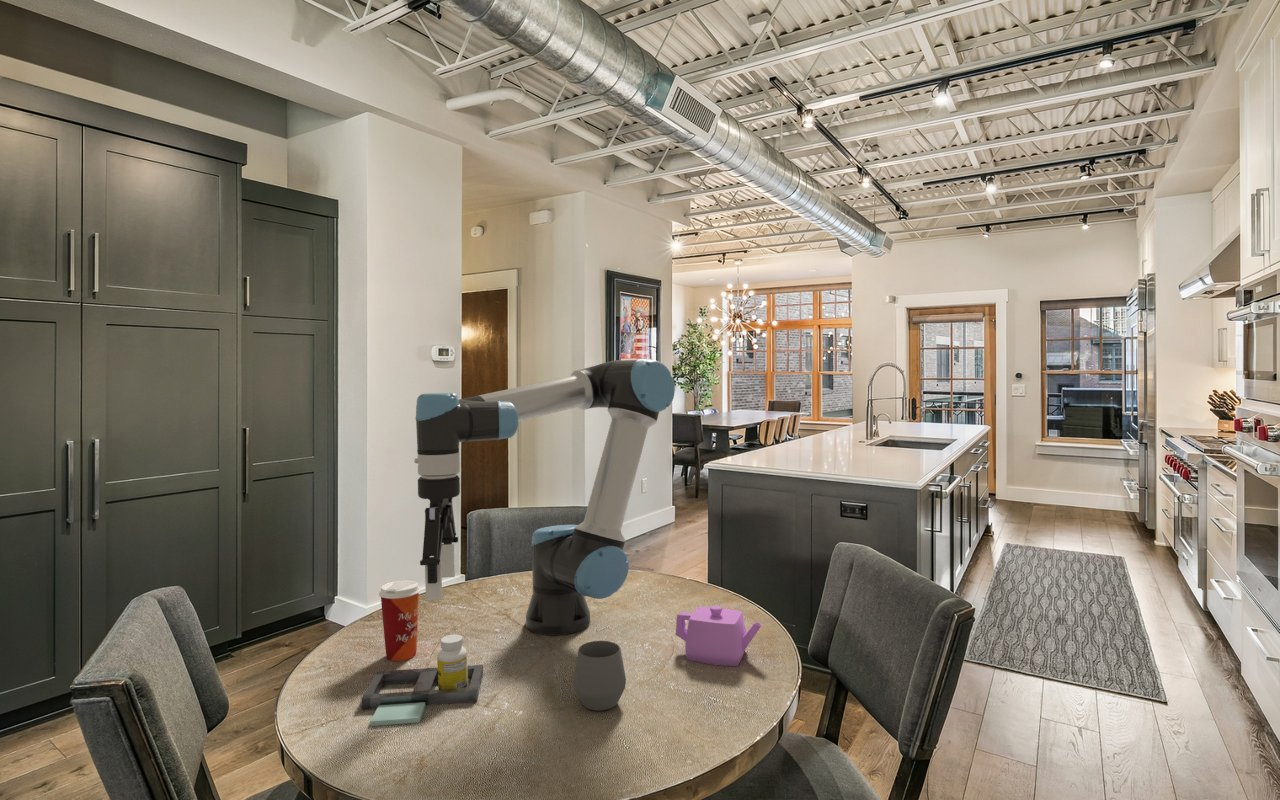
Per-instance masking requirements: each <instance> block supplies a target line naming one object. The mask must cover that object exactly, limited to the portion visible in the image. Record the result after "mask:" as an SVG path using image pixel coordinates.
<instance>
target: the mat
mask: <svg viewBox="0 0 1280 800" xmlns="http://www.w3.org/2000/svg"><path fill="white" fill-rule="evenodd" d="M425 709H426V705H425V702H421V703H407V704H393V705H379V706H378V708H377V709H376V710H375V712H374V713H373V715H372V717H371V719H370V724H369V725H370V727H375V726H378V727H379V726H387V725H388V726H389V725H391V726H392V725H402V724H404V725H405V724H415V723H420V722H421V720H422V716H423V714H424V712H425Z"/></svg>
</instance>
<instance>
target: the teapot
mask: <svg viewBox="0 0 1280 800" xmlns="http://www.w3.org/2000/svg"><path fill="white" fill-rule="evenodd" d="M686 621H688V623H687V627H686ZM675 625H676V626H675V636H677V637H679V638H680V639H681V640H683V641H684V642H685V649H684V652H685V657H686V659H687V660H688V661H690V662H694V663H695V662H696V663H701V664H707V665H713V666H721V667H722V666H724V667H738V666H739V664H740V663H741V661H742V659H743V656H744V655H745V651H746V649H747V647H748V646H750V645H749V644H750V643H751V642H752V641H753V639H754V637H755V636H756V634H757V633H758V631H760V628H761V627H762V623H761V622H758V621H754V622H753V624H752V625H751V626H750V627H749V628H748V629H747V630H746V624H745V619H744V614H743V611H742V610H738V609H729V608H723V607H722V606H720V605H712V606H698V607H697V608H696V609H695V610H694V611H693V612H684V611H682V612H681V611H679V612H678V614H677V615H676V624H675Z"/></svg>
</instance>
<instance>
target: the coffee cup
mask: <svg viewBox="0 0 1280 800" xmlns="http://www.w3.org/2000/svg"><path fill="white" fill-rule="evenodd" d="M420 592H421V587H420V586H419V583H418V582H417V581H415V580H410V579H409V580H407V579H405V580H402V579H401V580H397V581H396V580H394V581H391V582H388V583H385V584H383V585H382V586H381V588H380V591H379V593H378V596H379V597H380V602H381V615H382V627H383V637H384V647H385V655H386V659H387V661H392V662H403V661H408V660H410V659H413V658H414V657H415V656H416V655H417V647H418V627H419V626H418V624H419V623H418V622H419V621H418V620H419V593H420Z"/></svg>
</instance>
